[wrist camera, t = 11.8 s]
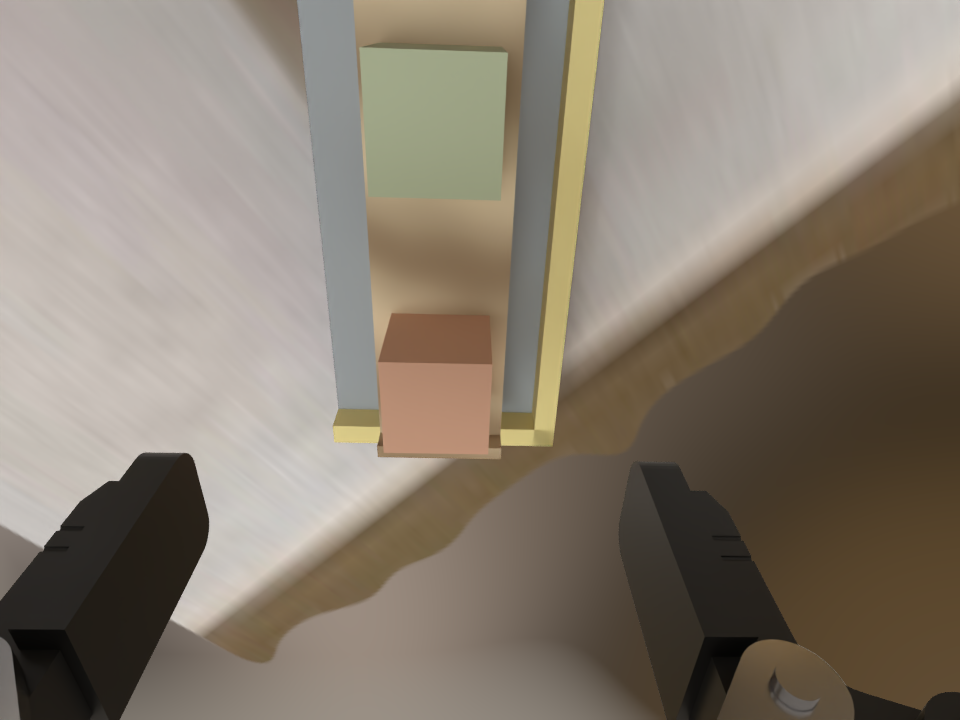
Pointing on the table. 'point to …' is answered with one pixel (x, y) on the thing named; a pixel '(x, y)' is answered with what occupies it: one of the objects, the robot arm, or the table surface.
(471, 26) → the tray
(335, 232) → the dock
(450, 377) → the block
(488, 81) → the block
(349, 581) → the table surface
